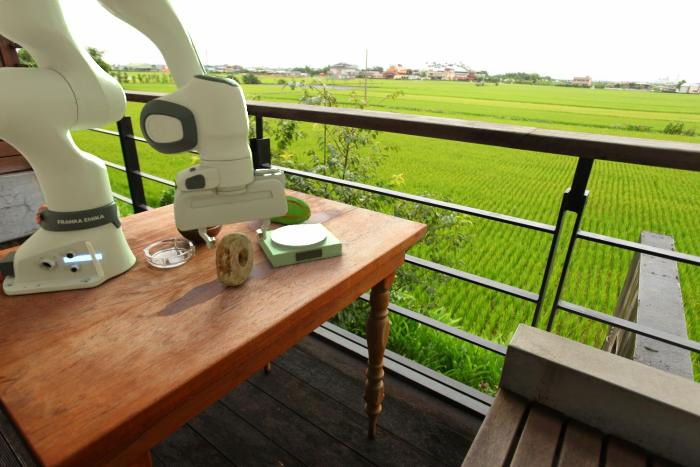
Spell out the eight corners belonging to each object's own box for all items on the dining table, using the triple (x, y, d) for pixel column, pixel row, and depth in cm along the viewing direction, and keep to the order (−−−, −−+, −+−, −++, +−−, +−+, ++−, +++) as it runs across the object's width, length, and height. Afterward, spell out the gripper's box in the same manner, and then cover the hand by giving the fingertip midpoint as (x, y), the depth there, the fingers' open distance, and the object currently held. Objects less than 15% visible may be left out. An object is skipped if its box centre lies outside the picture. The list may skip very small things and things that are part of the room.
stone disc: (233, 295, 72) (228, 246, 69) (215, 292, 73) (209, 244, 69) (258, 270, 82) (255, 226, 78) (242, 268, 83) (238, 224, 79)
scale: (274, 268, 83) (273, 252, 81) (259, 243, 95) (257, 229, 93) (342, 255, 89) (342, 240, 88) (320, 233, 101) (319, 220, 100)
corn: (301, 202, 100) (241, 192, 108) (301, 230, 103) (242, 218, 111) (316, 197, 107) (258, 187, 115) (316, 223, 109) (259, 212, 117)
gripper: (280, 163, 76) (285, 229, 81) (166, 174, 68) (180, 247, 73) (289, 170, 71) (294, 240, 76) (167, 182, 63) (181, 260, 68)
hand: (237, 243), depth 74 cm, fingers open, 8 cm apart
